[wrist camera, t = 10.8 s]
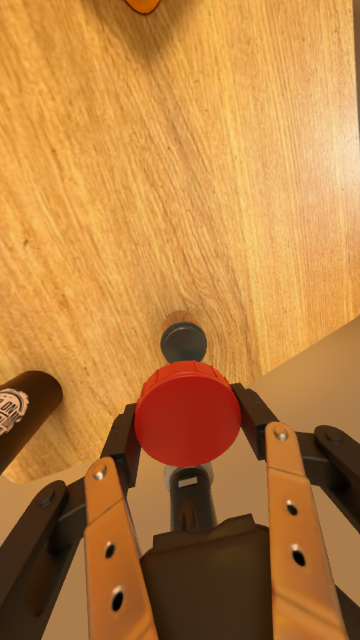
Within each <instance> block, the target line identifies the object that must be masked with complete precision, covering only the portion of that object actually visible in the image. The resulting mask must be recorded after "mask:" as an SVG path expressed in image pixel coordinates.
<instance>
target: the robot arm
mask: <svg viewBox="0 0 360 640" xmlns="http://www.w3.org/2000/svg"><path fill="white" fill-rule="evenodd" d="M230 386H231V387H232V391H233V393H234V395H235V396H236V398H237V400H238V402H239V405H240V410H241V428H242V429H243V431H244V433H245V435H246V437H247V439H248V441H249V443H250V445H251V447H252V449H253V451H254V453H255V455H256V457H257V459H258V460H259V461H260V460H265V461H266V463H267V487H268V510H269V511H268V512H269V527H266V526H263V525H260V524H255V522H254V520H253V517H252V514H246V515H242V516H237V517H233V518H228V519H227V520H225V521H223V522H222V523H220V524H219V525H218V521H217V516H216V511H215V507H214V502H213V497H212V492H211V487H210V482H209V475H208V472H207V471H206V470H205V469H204V468H203V467H202V466H199V465H197V466H191V467H178V468H177V469H176V470H174V471H173V473H172V474H171V476H170V480H169V486H170V532H167V533H162V534H158V535H154V536H153V548H151V549H150V550H148V551H147V552H146V553H145V554H144V555H142V552H141V549H140V545H139V542H138V538H137V535H136V531H135V527H134V524H133V520H132V516H131V513H130V509H129V505H128V502H127V498H126V497H127V492H128V488H132V487H135V483H136V477H137V470H138V464H139V457H140V451H141V446H140V444H139V442H138V440H137V436H136V433H135V429H134V420H135V409H136V405H137V403H133V404H128V405H126V407H125V410H124V413H123V414H119V415H118V417H117V418H116V419H115V420H114V422H113V425H112V427H111V430H110V432H109V436H108V438H107V440H106V443H105V446H104V448H103V451H102V453H101V456H100V459H99V460H97V461H96V462H94V463H93V464H92V466H91V467H90V468H89V469H88V471H87V473H86V475H85V476H84V477H83V478H81V479H79V480H77V481H76V482H73V483H72V484H70V485H68V486H66V484H65V483H64V481H62V480H57V481H54V482H52V483H50V484H48V485H47V486H45V487H44V488H43V489H42V490H41V491H40V492H39V493H38V494H37V495H36V496H35V498H34V499H33V500H32V502H31V503H30V505H29V506H28V507H27V509H26V510H25V512H24V513H23V515H22V516H21V518H20V519H19V521H18V522H17V524H16V525H15V526H14V528H13V530H12V531H11V532H10V534H9V535H8V537H7V538H6V540H5V541H4V543H3V544H2V545H1V547H0V640H41V638H42V636H43V633H44V631H45V628H46V626H47V623H48V621H49V618H50V616H51V613H52V610H53V608H54V605H55V603H56V600H57V598H58V595H59V593H60V590H61V588H62V585H63V583H64V580H65V578H66V575H67V573H68V570H69V568H70V565H71V562H72V560H73V557H74V555H75V552H76V550H77V547H78V545H79V542H80V540H81V539H82V538H83V537H84V550H85V551H84V552H85V573H86V591H87V592H86V593H87V613H88V635H89V640H360V607H359V606H358V605H357V604H356V603H355V602H353V601H352V600H351V599H350V598H349V597H348V596H347V595H346V594H345V593H344V592H343V591H342V590H341V589H340V588H339V587H338V586H336V585H335V584H334V580H333V576H332V572H331V568H330V563H329V559H328V555H327V551H326V547H325V543H324V538H323V534H322V530H321V526H320V522H319V518H318V513H317V510H316V505H315V501H314V497H313V492H312V488H311V485H316V486H320V487H321V489H322V490H323V491H324V492H325V493H326V494H327V496H328V497H329V498H330V499H331V500H332V502H333V503H334V504H335V505H336V506H337V508H338V509H339V510H340V511H341V512H342V513H343V515H344V516H345V517H346V518H347V519H348V520H349V522H350V523H351V524H352V525H353V526H354V528H355V529H356V530H357V531H358V532H359V534H360V444H359V443H358V442H356V441H355V440H353V439H352V438H351V437H350V436H348V435H347V434H346V433H344V432H343V431H341V430H339V429H337V428H335V427H332V426H327V425H321V426H318V427H316V428H315V431H314V433H302V432H296V431H294V430H293V429H292V428H291V427H290V426H288V425H286V424H284V423H281V422H280V421H279V420H278V419H277V418H276V416H275V415H274V414H273V413H272V412H271V410H270V409H269V408H268V407H267V406H266V404H265V403H264V402H263V400H262V399H261V398H260V397H259V395H258V394H257V393H256V392H254V391H253V390H251V389H244V387H243V386H242V384H241V383H235V384H230Z"/></svg>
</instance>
